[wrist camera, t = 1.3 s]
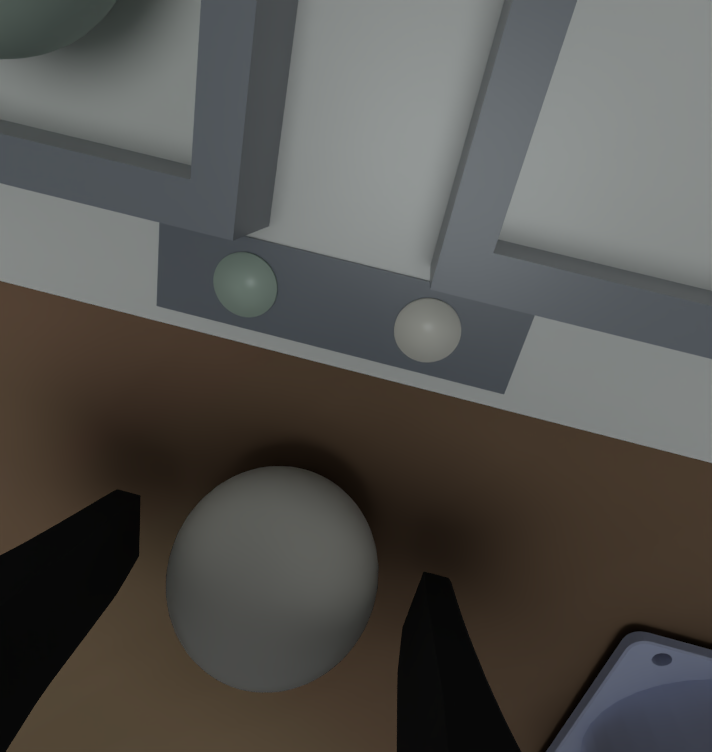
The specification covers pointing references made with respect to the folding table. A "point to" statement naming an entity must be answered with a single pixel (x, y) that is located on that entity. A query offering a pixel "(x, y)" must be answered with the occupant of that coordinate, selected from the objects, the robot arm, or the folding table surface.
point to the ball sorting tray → (391, 192)
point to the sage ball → (46, 24)
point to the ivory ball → (272, 579)
